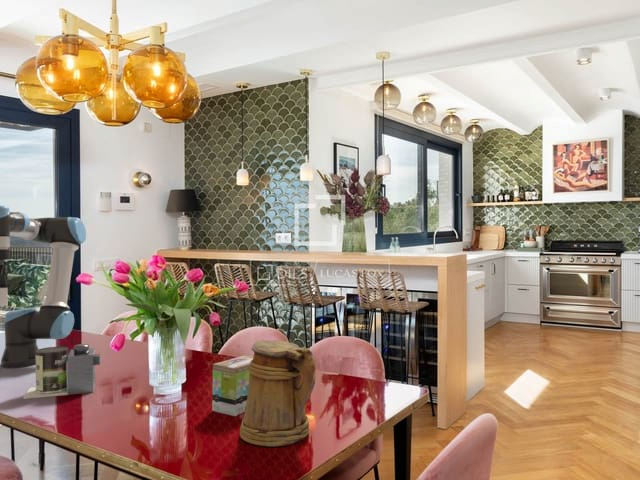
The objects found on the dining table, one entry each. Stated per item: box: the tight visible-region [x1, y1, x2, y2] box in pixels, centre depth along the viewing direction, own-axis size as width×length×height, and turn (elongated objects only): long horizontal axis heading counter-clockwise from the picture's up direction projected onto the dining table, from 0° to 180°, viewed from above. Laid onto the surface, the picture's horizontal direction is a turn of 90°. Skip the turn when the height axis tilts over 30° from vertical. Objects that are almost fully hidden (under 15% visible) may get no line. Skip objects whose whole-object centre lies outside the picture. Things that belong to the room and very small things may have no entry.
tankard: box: [239, 339, 317, 448], centre depth 144 cm, size 18×24×25 cm
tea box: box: [211, 355, 254, 417], centre depth 169 cm, size 15×10×15 cm, turn 148°
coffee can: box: [35, 346, 69, 394], centre depth 188 cm, size 10×10×14 cm
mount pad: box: [23, 386, 68, 400], centre depth 187 cm, size 12×14×1 cm
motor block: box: [66, 343, 101, 396], centre depth 191 cm, size 12×10×15 cm
